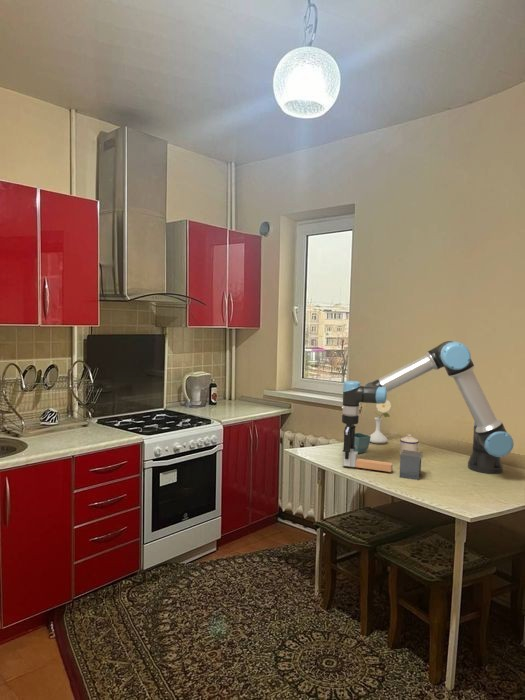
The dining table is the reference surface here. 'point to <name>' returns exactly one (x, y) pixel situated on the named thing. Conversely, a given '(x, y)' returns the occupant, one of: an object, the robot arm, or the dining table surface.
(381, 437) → the flower in vase
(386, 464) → the orange bar on cube
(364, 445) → the flower pot
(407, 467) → the block
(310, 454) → the dining table surface
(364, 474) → the dining table surface
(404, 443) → the teacup with lid
